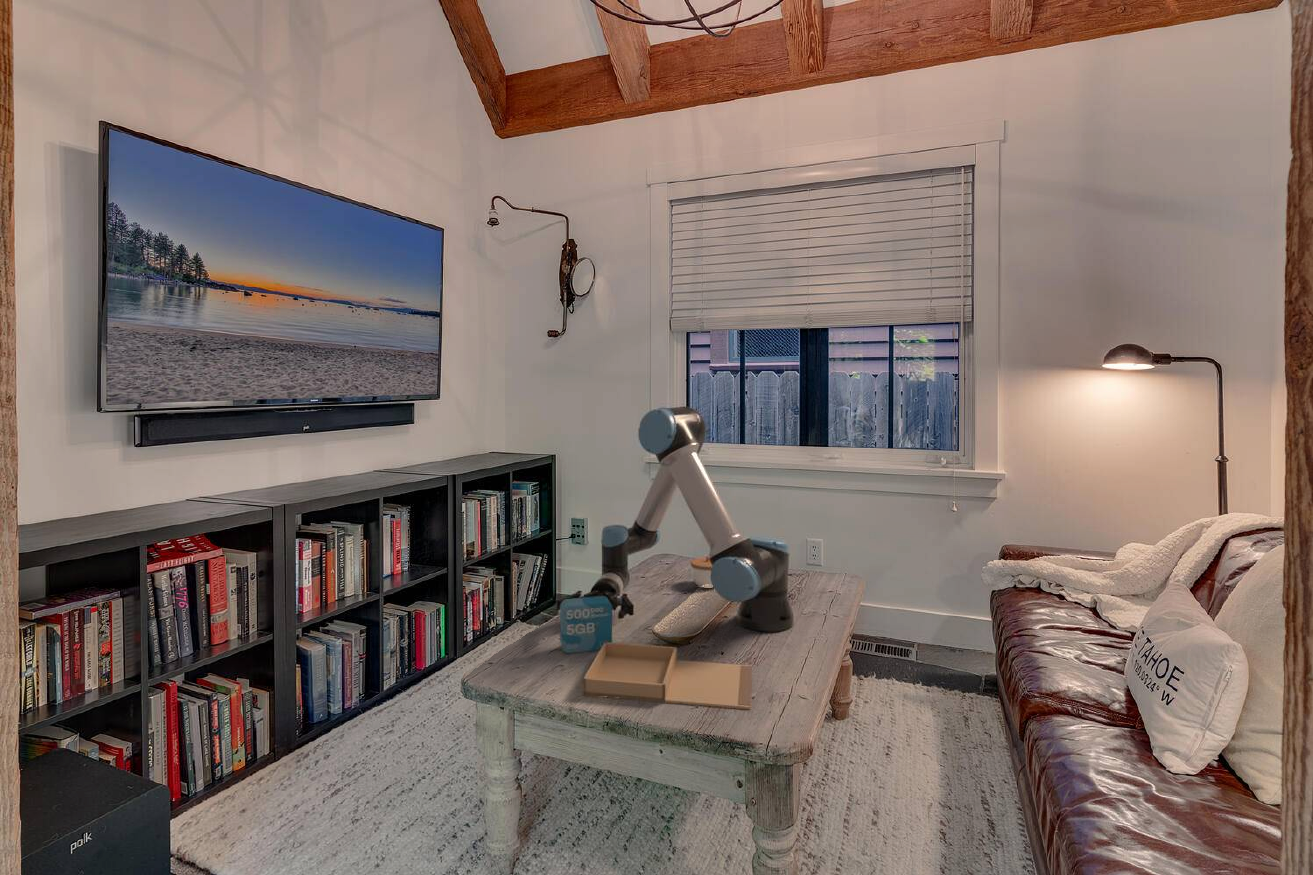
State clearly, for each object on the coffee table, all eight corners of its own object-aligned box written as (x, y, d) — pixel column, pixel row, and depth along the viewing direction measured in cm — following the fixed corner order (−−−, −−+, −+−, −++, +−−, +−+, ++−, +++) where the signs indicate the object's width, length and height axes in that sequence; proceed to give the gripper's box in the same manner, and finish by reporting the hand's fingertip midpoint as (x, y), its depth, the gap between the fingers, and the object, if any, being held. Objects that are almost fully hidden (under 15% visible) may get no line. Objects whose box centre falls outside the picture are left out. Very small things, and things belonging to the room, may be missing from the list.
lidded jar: (701, 593, 203) (701, 563, 202) (684, 583, 213) (684, 554, 212) (730, 588, 208) (731, 558, 207) (712, 578, 218) (712, 550, 217)
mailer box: (751, 667, 152) (751, 652, 151) (750, 709, 133) (750, 692, 132) (604, 656, 157) (604, 642, 157) (583, 695, 138) (583, 678, 138)
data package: (562, 654, 158) (562, 606, 156) (560, 646, 162) (560, 599, 161) (612, 649, 161) (612, 601, 160) (608, 641, 166) (608, 595, 164)
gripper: (651, 606, 181) (636, 636, 160) (563, 601, 185) (537, 630, 164) (651, 579, 180) (636, 606, 159) (563, 575, 184) (537, 600, 163)
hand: (586, 618), depth 162 cm, fingers open, 13 cm apart
